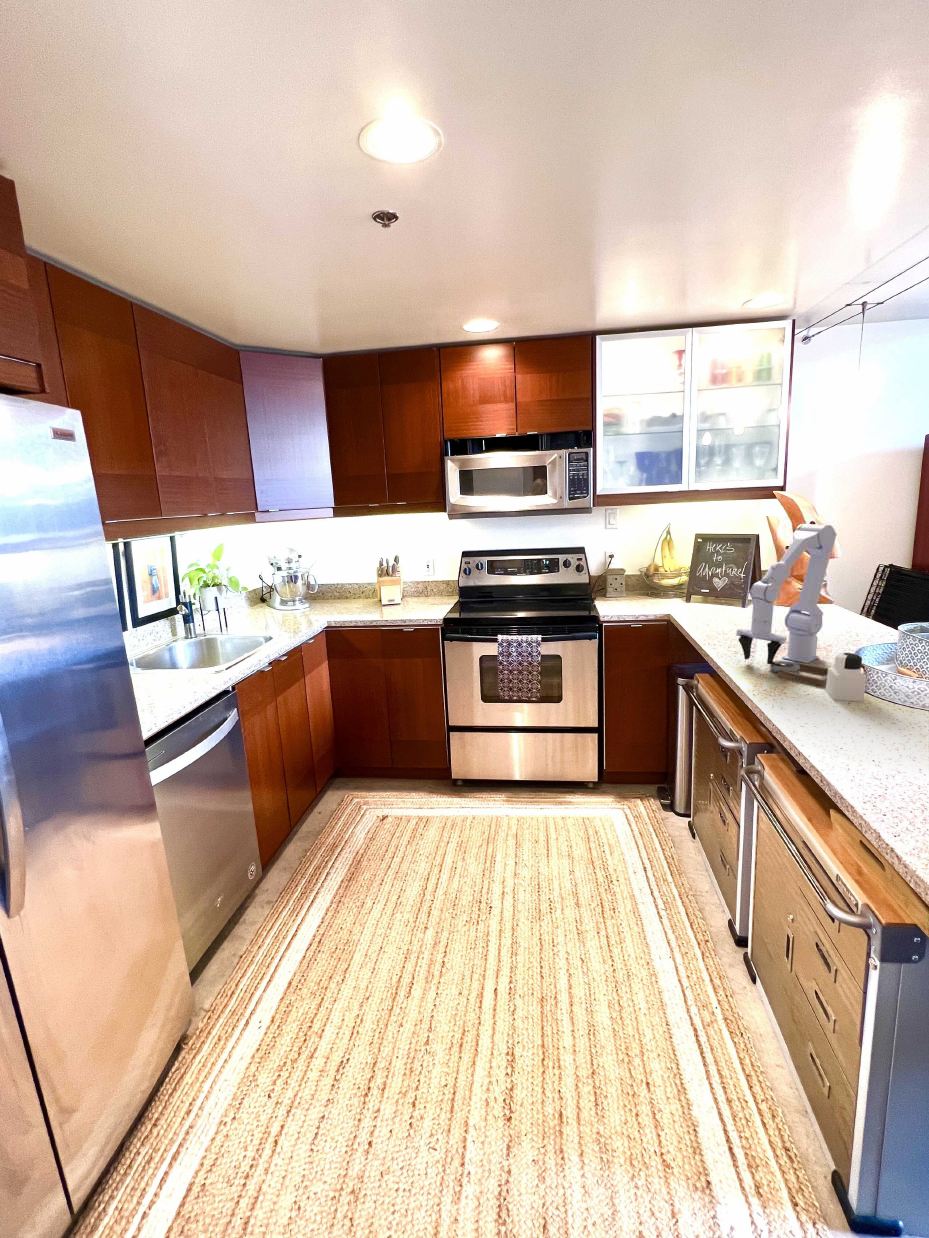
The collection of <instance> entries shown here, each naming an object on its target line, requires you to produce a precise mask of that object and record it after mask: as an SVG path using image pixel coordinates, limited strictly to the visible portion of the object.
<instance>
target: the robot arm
mask: <svg viewBox="0 0 929 1238" xmlns="http://www.w3.org/2000/svg"><path fill="white" fill-rule="evenodd" d="M792 537H793V538H792V539H793V541H791V543H790V545H789V546H788V548H787V550H786V552H785V553H784V554H783V556H782V558H781V560H780V561H778V562H777V561H776V562H774V563H772V565H771V566H770V568H769V569H768V570H767V571H766V573H765V574H764V575H763V577H762V578H761V580H759V581H756V582H755V583H754V584H752V586H751V588H750V590H749V595H750V598H751V604H752V613H751V615H752V616H751V625H750V626H751V627H750V629H741V628H739V629H737V630H736V633H735V634H736V636H737V637H738V642H739V644H740V646H741V648H742V649H741V650H742V652H743V657H744V660H749V659H750V658H751V650H752V649H751V648H752V644H753V643H752V642H753V639H756V640H761V641H762V640H763V641H766V642H768V643H767V644H766V645H767V660H766V664H767V665H771V662H773V661H774V659H775V657H776V655H777V652H778V650H779V649H780V648H781V646H782V645H784V644H786V643H787V642H786V641H787V637H786V636H783V635H780V634H775V633H772V629H773V628H772V627H773V626H772V625H773V616H774V607H775V606H774V605H775V601H776V600H778V598H779V596H780V593H781V592H780V591H781V590H782V585H783V584H784V583H785V582H786V580H787V579H788V578H789V576H790V575H791V574H792V573H791V572H792V571H791V567H792V566H793V565H794V564H795V563H796V562H797V561H798V559H799V558H800V557H801V556H802V555H803V554H804V552H806V551H808V552H809V554H810V556H809V560H808V563H807V567H806V571H805V574H804V579H803V583H802V586H801V591H800V593H799V598H798V601H796V602H795V603H794V604H791V606H789V609H788V612H787V613H786V615H785V617H784V626H785V627H786V628H787V632H789V634H788V643H787V644H788V645H787V654H785V655H783V656H781V658H782V659H784V660H785V659H786V660H790V661H793V662H799V663H804V664H810V663H811V662H812V661H813V662H814V660H816V659H818V658H819V657H820V656H819V655H817V647H818V636H817V635H818V633H819V632H820V630H821V629H822V628H823V615H824V612H823V610H822V609H821V608H820V607H819V606H818V603H819V598H820V594H821V591H822V587H823V583H824V581H825V576H826V573H827V568H828V565H829V563H830V558H831V554H832V552H833V549H834V545H835V542H836V538H837V532H836V530H835V529H834V527H833V526H832V524H831V525H830V524H813V523H812V524H810V523H808V524H807V523H801V524H799V525H798V526H797V527H796V529H795V531H794V532H793V534H792Z"/></svg>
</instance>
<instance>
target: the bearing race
mask: <svg viewBox="0 0 929 1238" xmlns="http://www.w3.org/2000/svg"><path fill="white" fill-rule="evenodd" d="M769 665H770V667H769V672H771V674H774V675H777V674H778V671H779V670H783V671H788V672H793V673H797V674H800V671H801V670H800V665H799V664H797V663H795V661H793V662H792V661H787V660H773V662H771V664H769Z"/></svg>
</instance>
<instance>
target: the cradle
mask: <svg viewBox="0 0 929 1238" xmlns="http://www.w3.org/2000/svg"><path fill="white" fill-rule="evenodd" d="M794 663H797V664H799V665H800V671H803V672H808V673H813V674H818V675H823V676H821V677H816V676H811V675H807V674H800V673H799V674H797V673H793V672H788V671H783V670H779V671H778V675H777V677H778V678H780V679H785V680H790V681H795V682H799V683H802V684H807V685H813V686H816V687H821V688H823V687H825V686H826V682H827V674H828V668H829V667H828V668H827V667H823V666H818V665H814V664H813V665H812V664H810V663H804V662H799V661H794Z"/></svg>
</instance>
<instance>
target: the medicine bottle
mask: <svg viewBox="0 0 929 1238" xmlns="http://www.w3.org/2000/svg"><path fill="white" fill-rule="evenodd" d="M862 663H863V658H862V657H861V656H860V655H858V654H856V653H851V652H840V653H836V655H835V658H834V666H833V667H828V674H827V682H826V685H825V692H826V694H828V695H829V696H830V697H831V699H832V700H834V701H844V702H847V701H848V702H864V699H865V691H866V690H865V689H866V685H867V684H866V683H867V676H866V675H864V674H863V673H862V672H861V670H862Z"/></svg>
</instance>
